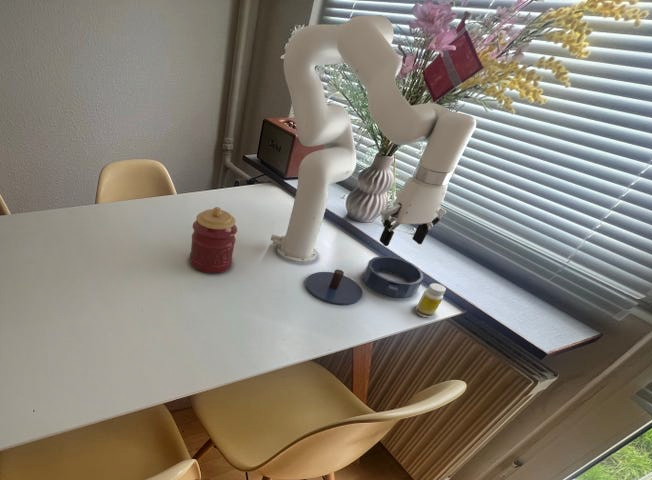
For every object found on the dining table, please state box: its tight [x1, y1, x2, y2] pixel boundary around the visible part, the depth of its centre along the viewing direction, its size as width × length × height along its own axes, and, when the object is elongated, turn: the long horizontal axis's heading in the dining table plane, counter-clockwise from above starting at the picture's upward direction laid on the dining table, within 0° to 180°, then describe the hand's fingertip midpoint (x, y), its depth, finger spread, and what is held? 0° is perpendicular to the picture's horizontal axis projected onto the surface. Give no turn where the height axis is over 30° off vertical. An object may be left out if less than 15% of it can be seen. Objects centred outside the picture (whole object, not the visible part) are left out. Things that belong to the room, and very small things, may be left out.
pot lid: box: [304, 269, 364, 306], centre depth 123 cm, size 16×16×6 cm
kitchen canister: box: [189, 206, 238, 274], centre depth 126 cm, size 13×13×18 cm
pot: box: [362, 254, 424, 300], centre depth 127 cm, size 15×21×5 cm
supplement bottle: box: [415, 282, 447, 318], centre depth 116 cm, size 5×5×8 cm
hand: (400, 242), depth 110 cm, fingers open, 9 cm apart
